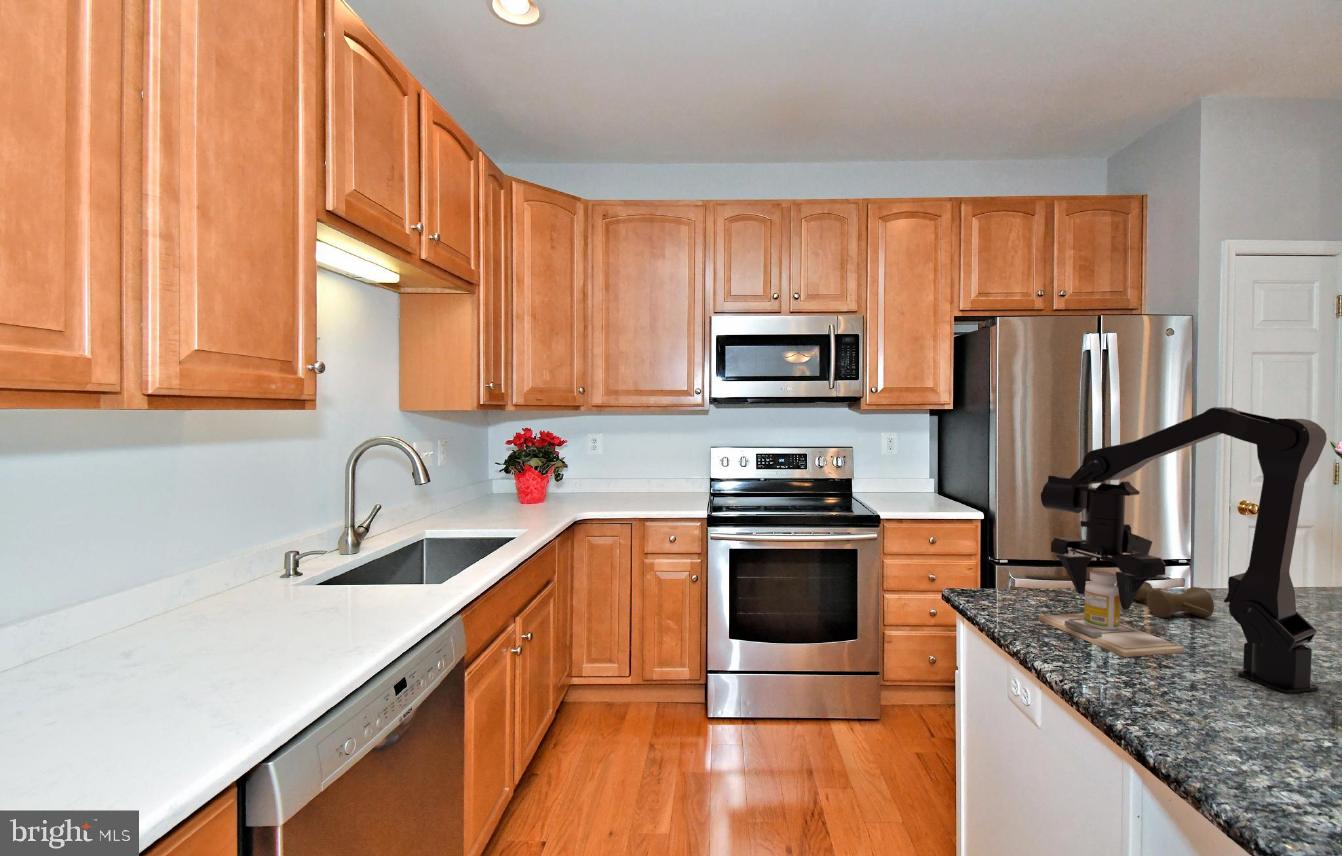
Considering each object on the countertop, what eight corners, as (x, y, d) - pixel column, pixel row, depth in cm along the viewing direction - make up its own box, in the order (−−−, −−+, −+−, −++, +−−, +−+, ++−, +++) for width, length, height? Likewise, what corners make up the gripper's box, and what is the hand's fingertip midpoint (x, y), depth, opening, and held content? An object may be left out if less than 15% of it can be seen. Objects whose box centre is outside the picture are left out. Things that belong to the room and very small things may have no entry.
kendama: (1146, 598, 135) (1233, 627, 115) (1104, 599, 135) (1184, 629, 115) (1145, 571, 135) (1232, 595, 115) (1103, 572, 135) (1183, 597, 115)
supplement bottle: (1108, 621, 115) (1109, 570, 114) (1126, 631, 109) (1128, 577, 109) (1077, 619, 115) (1079, 569, 115) (1094, 630, 110) (1096, 576, 110)
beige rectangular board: (1184, 652, 103) (1184, 641, 102) (1124, 656, 100) (1125, 645, 100) (1091, 616, 120) (1091, 607, 120) (1038, 619, 118) (1039, 610, 118)
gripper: (1193, 525, 104) (1190, 615, 105) (1097, 508, 122) (1094, 585, 123) (1139, 527, 102) (1136, 619, 102) (1049, 509, 120) (1047, 587, 121)
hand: (1102, 601), depth 112 cm, fingers open, 9 cm apart
